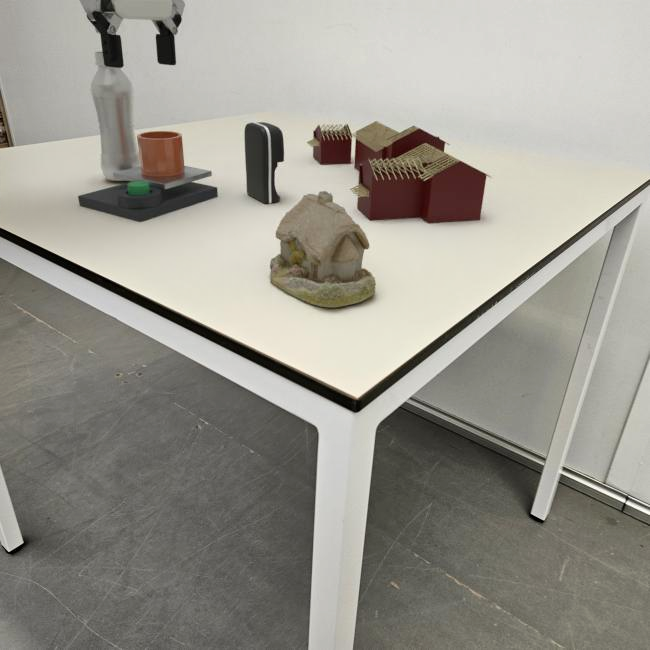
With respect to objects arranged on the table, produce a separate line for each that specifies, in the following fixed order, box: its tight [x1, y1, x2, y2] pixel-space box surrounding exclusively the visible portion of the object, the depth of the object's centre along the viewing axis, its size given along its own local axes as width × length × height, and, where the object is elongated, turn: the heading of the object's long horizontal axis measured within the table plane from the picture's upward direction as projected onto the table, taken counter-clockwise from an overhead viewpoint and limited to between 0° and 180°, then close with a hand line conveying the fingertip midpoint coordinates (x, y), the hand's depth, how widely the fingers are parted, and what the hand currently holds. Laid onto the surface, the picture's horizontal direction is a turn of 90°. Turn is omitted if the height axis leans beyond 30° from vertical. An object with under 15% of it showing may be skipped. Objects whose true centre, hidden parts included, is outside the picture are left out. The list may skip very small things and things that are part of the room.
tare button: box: [127, 181, 150, 196], centre depth 85 cm, size 3×3×2 cm
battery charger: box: [244, 121, 285, 204], centre depth 93 cm, size 7×4×11 cm, turn 33°
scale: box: [77, 181, 219, 223], centre depth 92 cm, size 16×13×3 cm
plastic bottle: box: [90, 51, 140, 182], centre depth 98 cm, size 6×7×20 cm
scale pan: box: [113, 165, 213, 189], centre depth 93 cm, size 10×11×1 cm
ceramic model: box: [269, 190, 377, 309], centre depth 65 cm, size 14×11×10 cm
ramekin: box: [136, 130, 186, 177], centre depth 92 cm, size 6×6×6 cm
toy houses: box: [306, 120, 493, 224], centre depth 103 cm, size 45×20×10 cm, turn 14°
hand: (141, 65), depth 85 cm, fingers open, 9 cm apart
